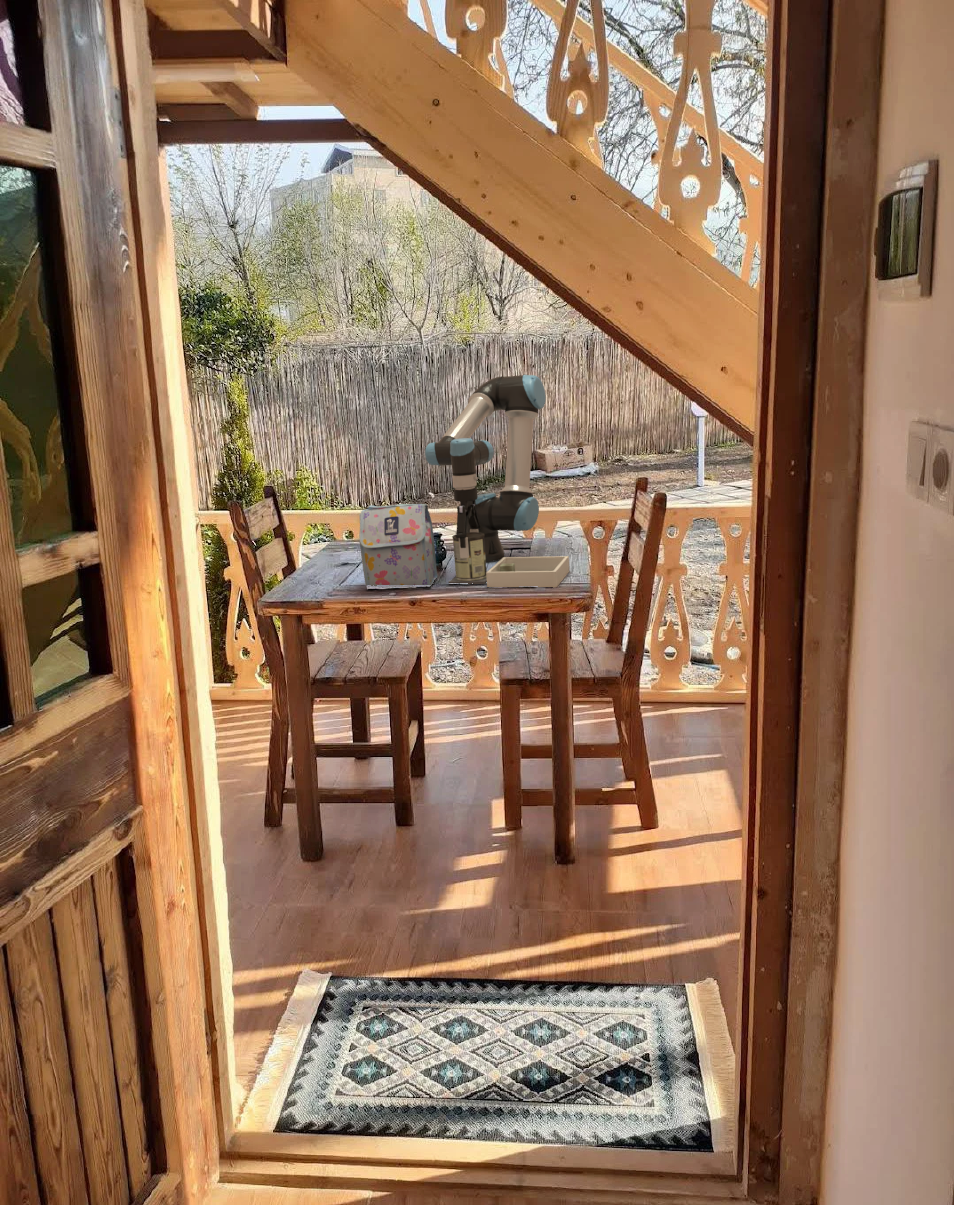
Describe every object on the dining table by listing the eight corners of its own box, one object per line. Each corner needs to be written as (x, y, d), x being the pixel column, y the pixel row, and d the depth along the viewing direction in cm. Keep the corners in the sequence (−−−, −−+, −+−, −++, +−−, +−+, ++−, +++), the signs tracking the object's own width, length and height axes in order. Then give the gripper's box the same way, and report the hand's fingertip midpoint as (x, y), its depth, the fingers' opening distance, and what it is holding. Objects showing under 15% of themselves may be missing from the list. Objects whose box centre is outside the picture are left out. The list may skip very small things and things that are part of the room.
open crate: (487, 588, 323) (486, 572, 322) (504, 571, 346) (503, 557, 345) (556, 587, 318) (555, 571, 316) (569, 571, 340) (568, 556, 339)
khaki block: (500, 581, 332) (499, 566, 331) (503, 578, 336) (502, 563, 335) (513, 581, 331) (512, 565, 330) (515, 578, 335) (514, 563, 334)
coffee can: (465, 573, 342) (462, 531, 339) (492, 575, 337) (490, 532, 334) (449, 580, 334) (446, 537, 330) (476, 582, 328) (473, 538, 325)
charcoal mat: (448, 584, 332) (448, 581, 331) (458, 576, 343) (458, 573, 343) (484, 584, 328) (484, 581, 328) (493, 576, 340) (493, 573, 340)
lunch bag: (360, 593, 328) (352, 510, 322) (372, 581, 345) (365, 502, 338) (429, 590, 325) (423, 507, 319) (439, 579, 341) (432, 499, 335)
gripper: (466, 493, 316) (471, 561, 321) (486, 481, 339) (490, 545, 345) (442, 494, 318) (448, 561, 323) (464, 482, 341) (468, 545, 347)
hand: (470, 553), depth 334 cm, fingers open, 13 cm apart
